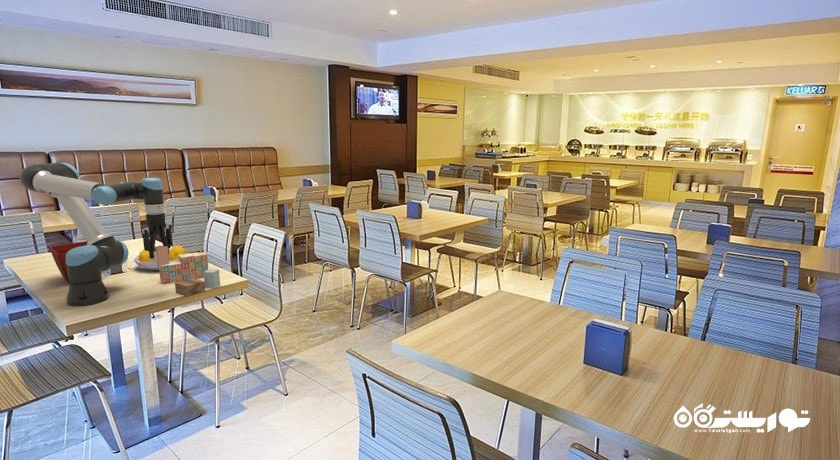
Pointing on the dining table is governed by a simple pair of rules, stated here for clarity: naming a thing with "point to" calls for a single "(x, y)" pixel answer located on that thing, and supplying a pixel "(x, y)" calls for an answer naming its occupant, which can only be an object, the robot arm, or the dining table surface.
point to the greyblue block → (211, 278)
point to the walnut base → (190, 286)
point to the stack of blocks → (184, 268)
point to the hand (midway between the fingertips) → (160, 263)
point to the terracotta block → (162, 255)
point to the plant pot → (64, 256)
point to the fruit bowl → (147, 263)
